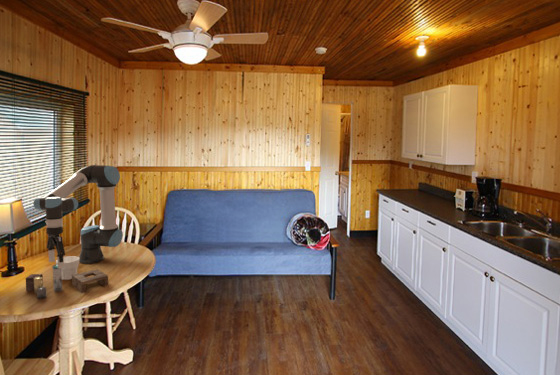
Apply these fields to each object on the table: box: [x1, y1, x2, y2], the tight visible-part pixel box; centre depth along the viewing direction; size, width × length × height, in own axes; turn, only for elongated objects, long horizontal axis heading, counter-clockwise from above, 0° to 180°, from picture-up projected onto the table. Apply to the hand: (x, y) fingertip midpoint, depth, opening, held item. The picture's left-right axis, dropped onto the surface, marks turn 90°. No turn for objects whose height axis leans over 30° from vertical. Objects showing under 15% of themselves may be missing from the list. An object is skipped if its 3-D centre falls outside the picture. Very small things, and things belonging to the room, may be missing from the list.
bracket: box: [71, 268, 109, 293], centre depth 215 cm, size 14×14×6 cm
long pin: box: [52, 264, 63, 293], centre depth 206 cm, size 4×4×14 cm
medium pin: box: [34, 277, 44, 295], centre depth 203 cm, size 4×4×8 cm
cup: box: [55, 255, 80, 281], centre depth 225 cm, size 12×12×11 cm
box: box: [25, 273, 44, 292], centre depth 208 cm, size 6×6×7 cm
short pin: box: [36, 286, 47, 300], centre depth 198 cm, size 4×4×5 cm
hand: (56, 264), depth 205 cm, fingers open, 13 cm apart
